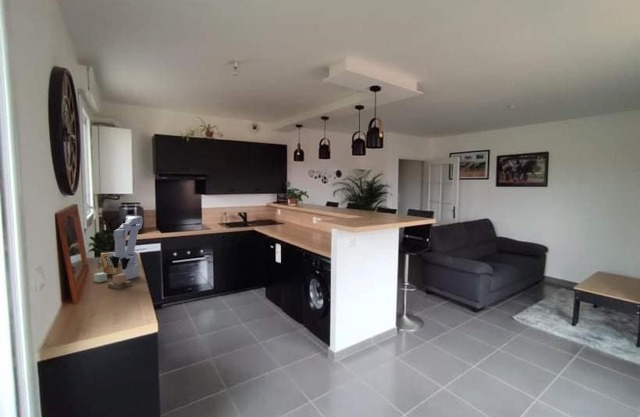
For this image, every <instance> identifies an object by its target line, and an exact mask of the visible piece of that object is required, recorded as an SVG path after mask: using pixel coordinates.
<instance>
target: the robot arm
mask: <svg viewBox="0 0 640 417" xmlns="http://www.w3.org/2000/svg"><path fill="white" fill-rule="evenodd" d="M143 219H144V218H143V217H142V215H126V216H125V218H124V222H125V223H121V225H119V227H118V228H117V229H114V230H113V241H114V252H115V253H111V258H110V260H111V261H112V263H113V267H114V268H116V269H117V268H119V265H121V269H122V271H121V272H122V273H121V274H126V281H129V280H131V279H135V278H139V277H140V274H139V273H140V268H139V265H138V264H137V263H138V259H139V258H138V257H139V255H138V252H136V251H135V249H136V245H137V240H138V238H137V237H138V235H139V234H138V233H139V230H140V229H142V226H143V222H144V221H143ZM128 233H129V235H128ZM127 237H128V240H126V239H127ZM126 241H127V242H126ZM126 243H127V245H126Z"/></svg>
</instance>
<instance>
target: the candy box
mask: <svg viewBox="0 0 640 417" xmlns="http://www.w3.org/2000/svg"><path fill="white" fill-rule="evenodd" d="M111 253H115V251H114V252H113V251H112V252H101V253H100V273H101V272H103V273H107V276H108V275H115V274H117V268H114V267H113V263H112V261H111V260H110V258H111Z"/></svg>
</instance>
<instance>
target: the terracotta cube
mask: <svg viewBox="0 0 640 417" xmlns="http://www.w3.org/2000/svg"><path fill="white" fill-rule="evenodd" d="M126 281H127V280H126V274H122V273H121V272H120V273H116V274H112V282H113V283H115V284H121V283H124V282H126Z"/></svg>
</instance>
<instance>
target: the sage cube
mask: <svg viewBox="0 0 640 417" xmlns="http://www.w3.org/2000/svg"><path fill="white" fill-rule="evenodd" d="M106 281H108V275H107V273H103V272H101V271H100V272H97V273H94V274H93V282H96V283H102V282H106Z"/></svg>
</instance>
